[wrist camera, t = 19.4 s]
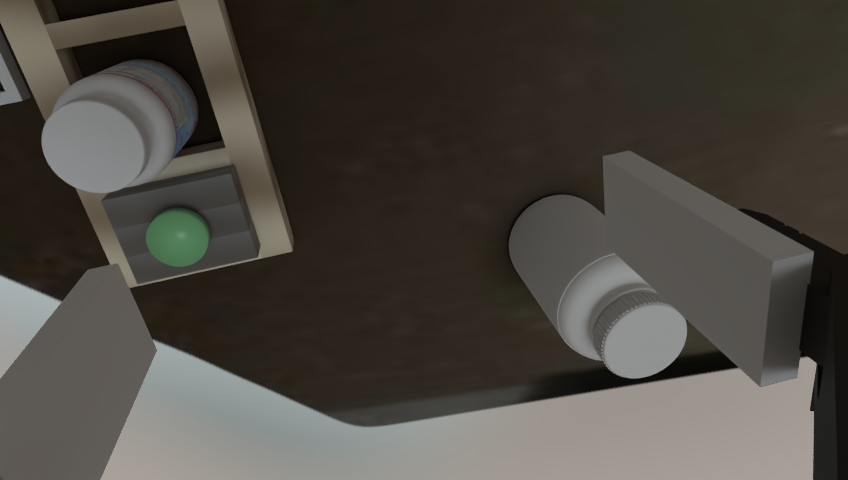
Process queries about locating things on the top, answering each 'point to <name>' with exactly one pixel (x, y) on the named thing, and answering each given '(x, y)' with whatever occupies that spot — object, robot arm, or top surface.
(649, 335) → the pill bottle
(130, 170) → the pill bottle
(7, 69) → the white rectangular frame
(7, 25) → the wooden divided rack
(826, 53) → the top surface
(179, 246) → the button
